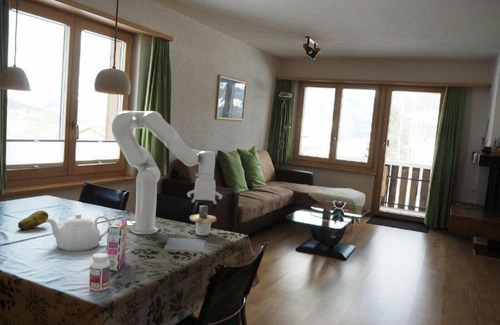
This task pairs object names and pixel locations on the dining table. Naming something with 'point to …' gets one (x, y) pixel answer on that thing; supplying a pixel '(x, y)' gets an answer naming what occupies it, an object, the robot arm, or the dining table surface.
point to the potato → (33, 220)
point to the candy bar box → (116, 244)
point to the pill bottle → (99, 272)
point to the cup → (203, 228)
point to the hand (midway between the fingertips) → (203, 210)
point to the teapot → (77, 233)
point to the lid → (203, 216)
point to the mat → (185, 244)
